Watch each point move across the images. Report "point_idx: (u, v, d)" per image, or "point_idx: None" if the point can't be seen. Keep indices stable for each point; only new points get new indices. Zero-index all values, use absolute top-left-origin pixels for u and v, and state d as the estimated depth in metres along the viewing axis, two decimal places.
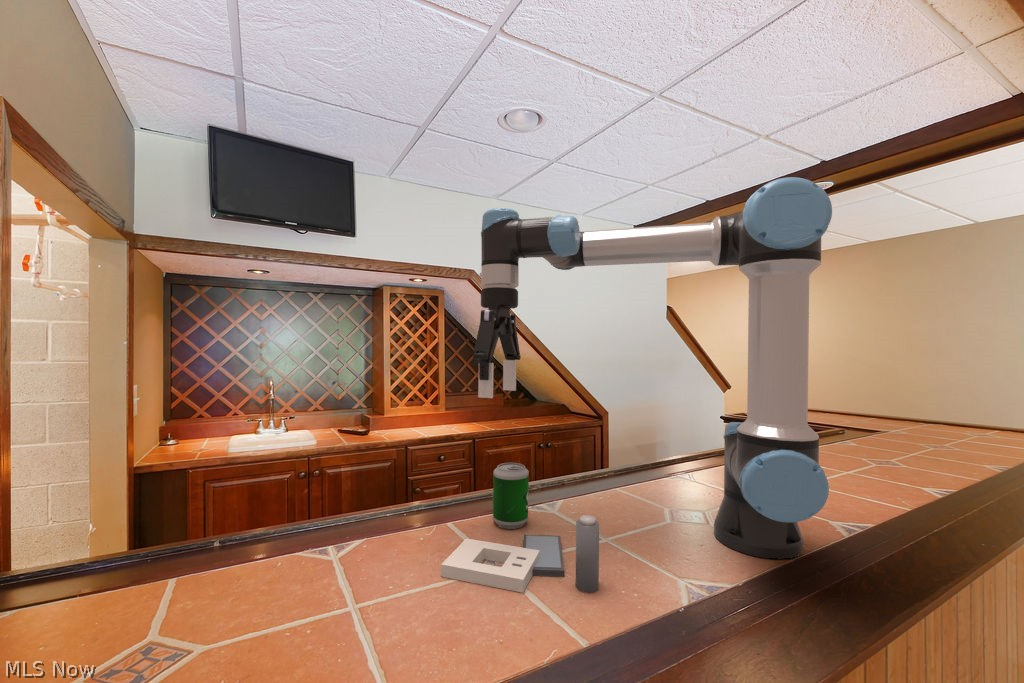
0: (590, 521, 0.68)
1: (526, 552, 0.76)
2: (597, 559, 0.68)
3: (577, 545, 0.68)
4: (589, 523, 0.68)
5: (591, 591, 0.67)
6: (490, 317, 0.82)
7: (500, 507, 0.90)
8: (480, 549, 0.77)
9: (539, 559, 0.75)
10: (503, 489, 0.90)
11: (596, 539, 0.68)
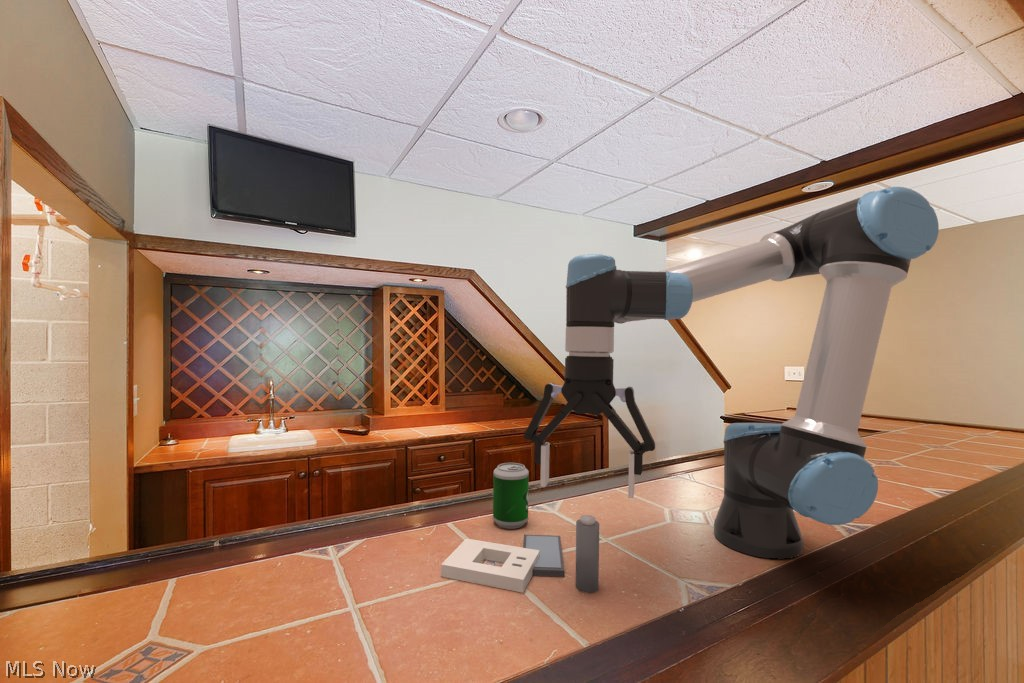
0: (590, 521, 0.68)
1: (526, 552, 0.76)
2: (597, 559, 0.68)
3: (577, 545, 0.68)
4: (589, 523, 0.68)
5: (591, 591, 0.67)
6: None
7: (500, 507, 0.90)
8: (480, 549, 0.77)
9: (539, 559, 0.75)
10: (503, 489, 0.90)
11: (596, 539, 0.68)
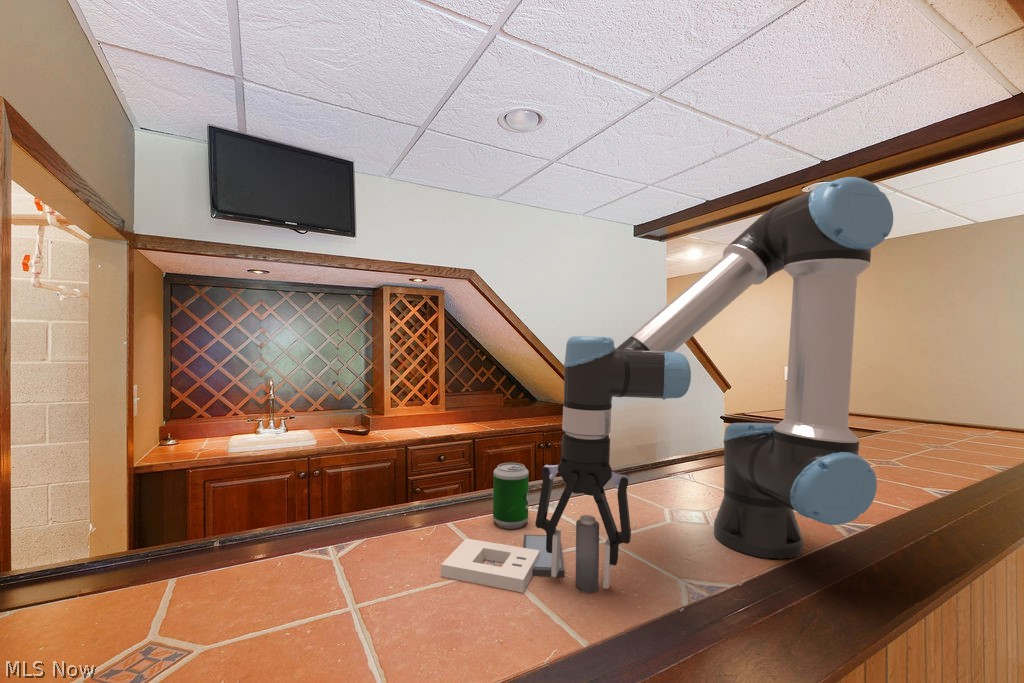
0: (590, 521, 0.68)
1: (526, 552, 0.76)
2: (597, 559, 0.68)
3: (577, 545, 0.68)
4: (589, 523, 0.68)
5: (591, 591, 0.67)
6: None
7: (500, 507, 0.90)
8: (480, 549, 0.77)
9: (539, 559, 0.75)
10: (503, 489, 0.90)
11: (596, 539, 0.68)
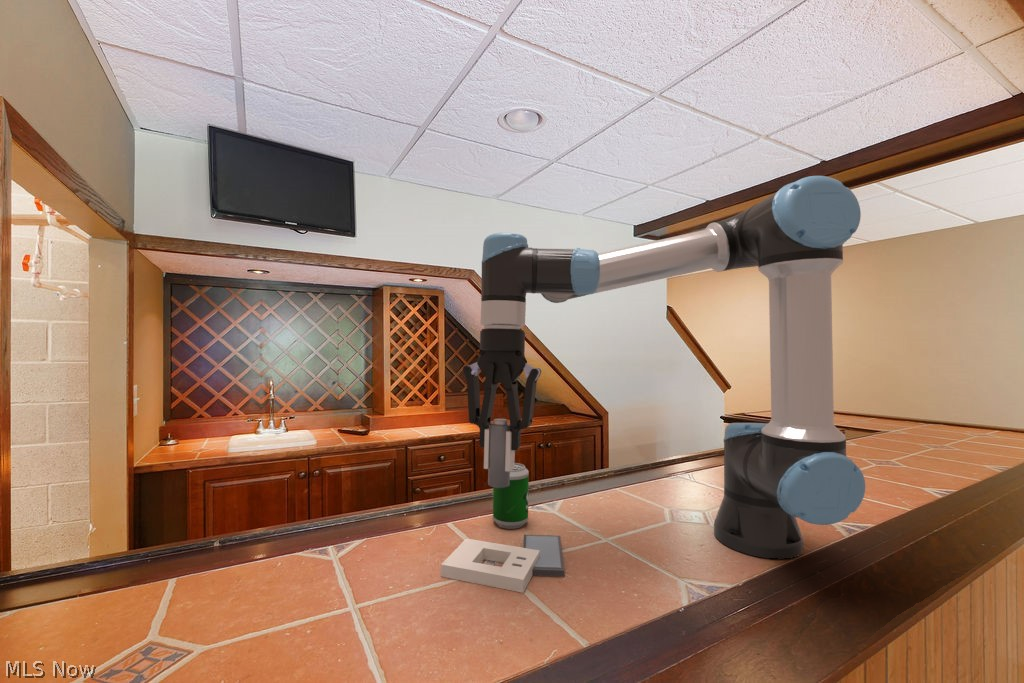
0: (501, 421, 0.72)
1: (526, 552, 0.76)
2: None
3: (489, 444, 0.73)
4: (500, 423, 0.72)
5: (501, 486, 0.72)
6: None
7: (500, 507, 0.90)
8: (480, 549, 0.77)
9: (539, 559, 0.75)
10: (503, 489, 0.90)
11: None
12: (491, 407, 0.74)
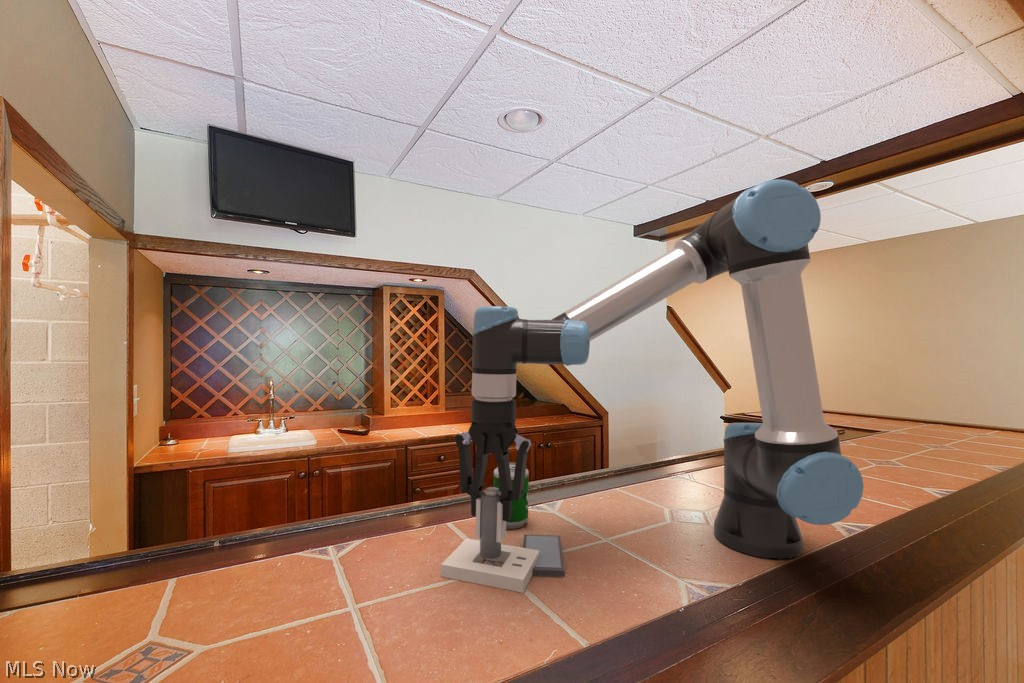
0: (492, 491, 0.73)
1: (526, 552, 0.76)
2: None
3: (481, 514, 0.73)
4: (491, 494, 0.73)
5: (492, 557, 0.72)
6: None
7: None
8: None
9: (539, 559, 0.75)
10: None
11: None
12: (483, 476, 0.75)
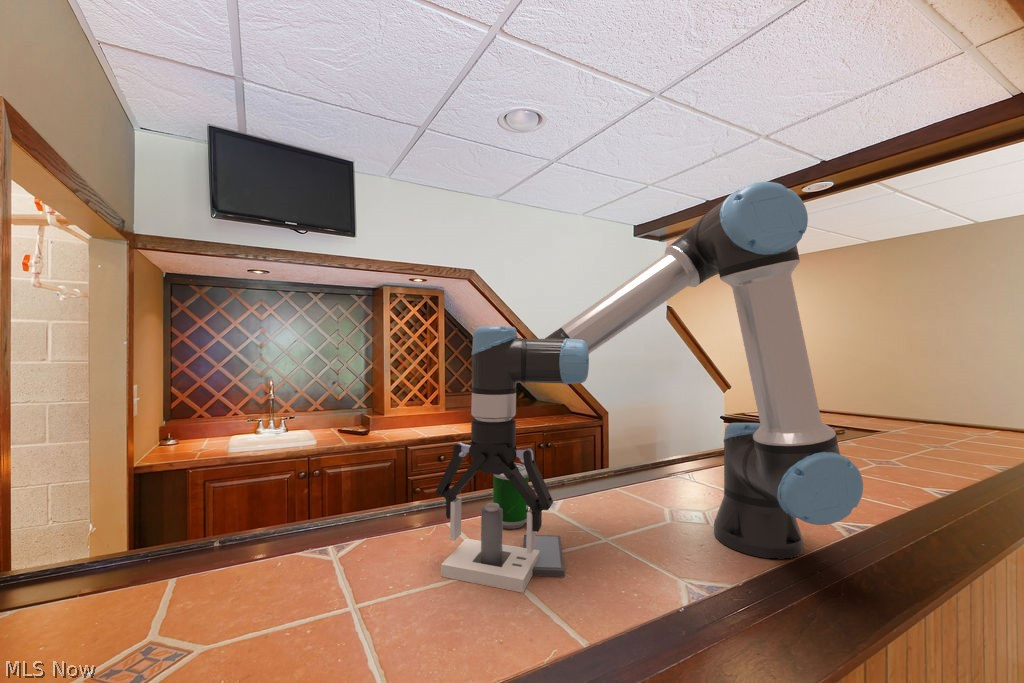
0: (493, 507, 0.73)
1: (526, 552, 0.76)
2: (499, 543, 0.73)
3: (481, 530, 0.73)
4: (492, 510, 0.73)
5: None
6: None
7: (500, 507, 0.90)
8: (480, 549, 0.77)
9: (539, 559, 0.75)
10: (503, 489, 0.90)
11: (498, 525, 0.73)
12: (464, 485, 0.76)
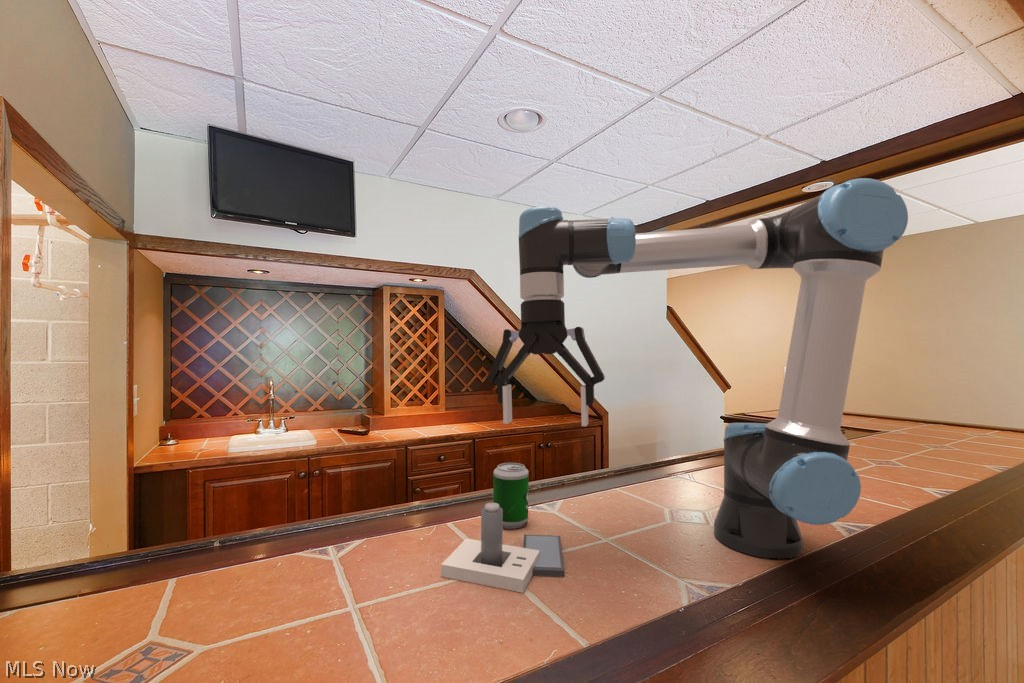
0: (493, 507, 0.73)
1: (526, 552, 0.76)
2: (499, 543, 0.73)
3: (481, 530, 0.73)
4: (492, 510, 0.73)
5: None
6: None
7: None
8: (480, 549, 0.77)
9: (539, 559, 0.75)
10: (503, 489, 0.90)
11: (498, 525, 0.73)
12: (514, 371, 0.77)
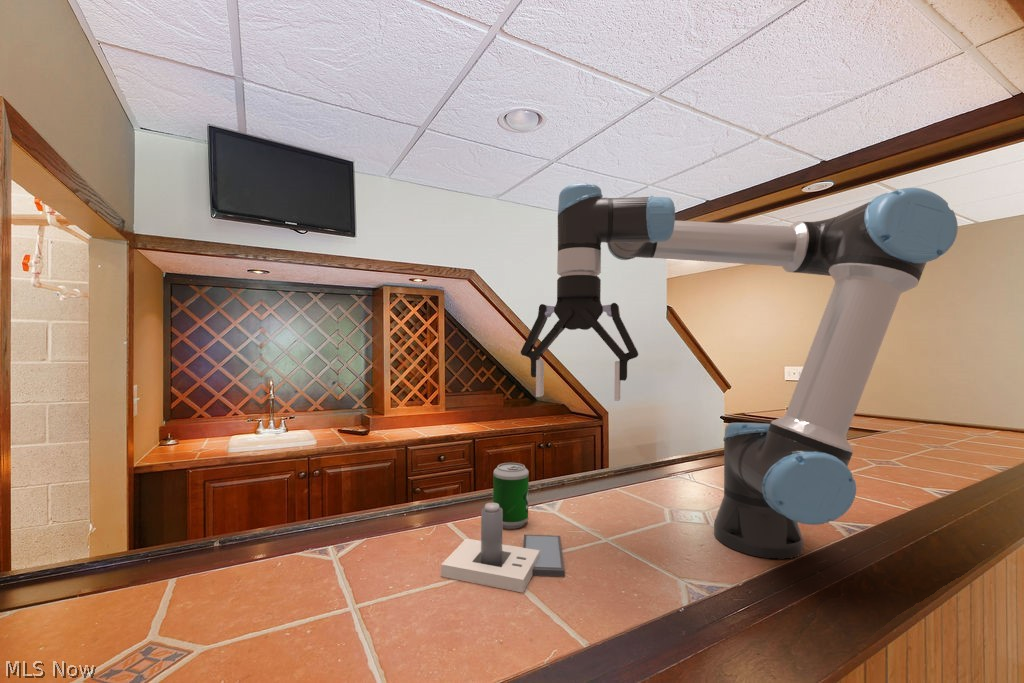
0: (493, 507, 0.73)
1: (526, 552, 0.76)
2: (499, 543, 0.73)
3: (481, 530, 0.73)
4: (492, 510, 0.73)
5: None
6: None
7: (500, 507, 0.90)
8: (480, 549, 0.77)
9: (539, 559, 0.75)
10: (503, 489, 0.90)
11: (498, 525, 0.73)
12: (548, 345, 0.79)
